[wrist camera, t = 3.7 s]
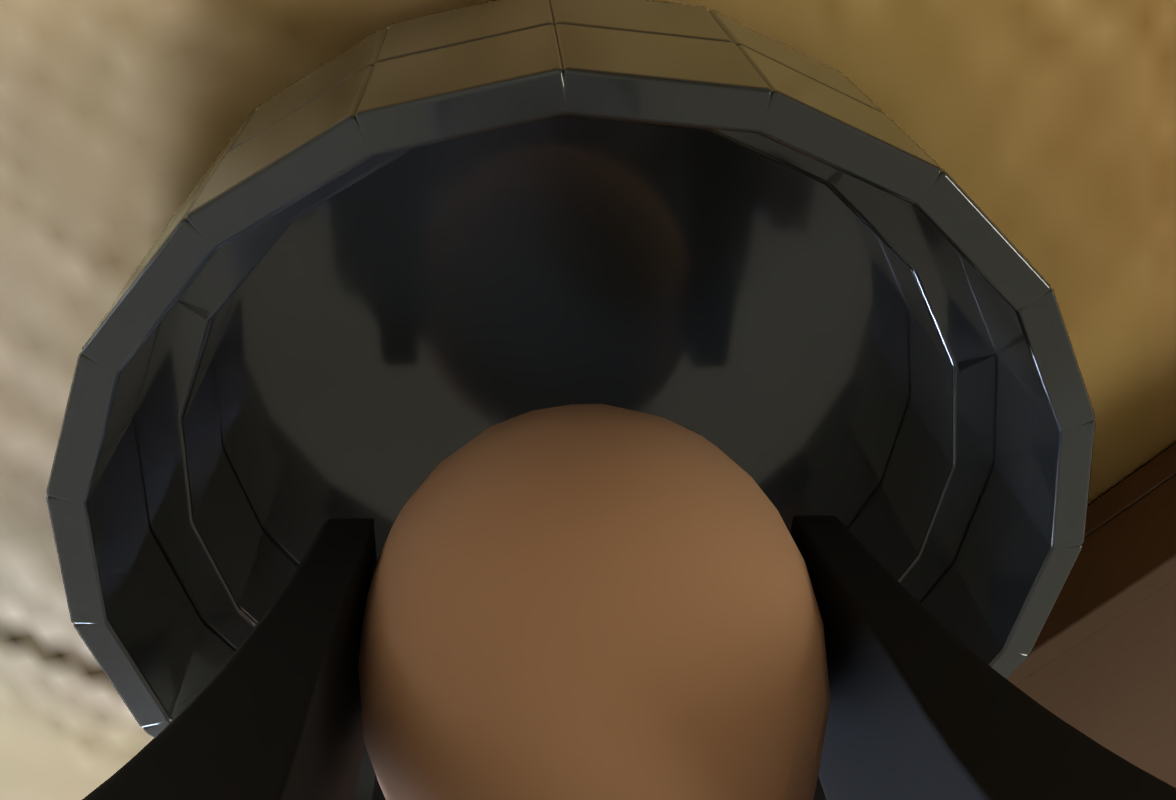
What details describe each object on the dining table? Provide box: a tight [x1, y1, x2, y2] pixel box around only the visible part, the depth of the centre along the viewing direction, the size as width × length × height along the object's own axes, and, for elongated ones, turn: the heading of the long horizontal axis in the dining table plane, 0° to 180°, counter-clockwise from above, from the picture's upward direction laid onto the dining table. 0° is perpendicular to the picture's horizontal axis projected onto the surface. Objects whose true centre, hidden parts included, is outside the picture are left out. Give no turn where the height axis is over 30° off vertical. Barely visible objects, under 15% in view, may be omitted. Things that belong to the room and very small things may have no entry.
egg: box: [358, 404, 831, 800], centre depth 13 cm, size 6×6×8 cm
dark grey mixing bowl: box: [46, 0, 1095, 800], centre depth 16 cm, size 14×14×4 cm
